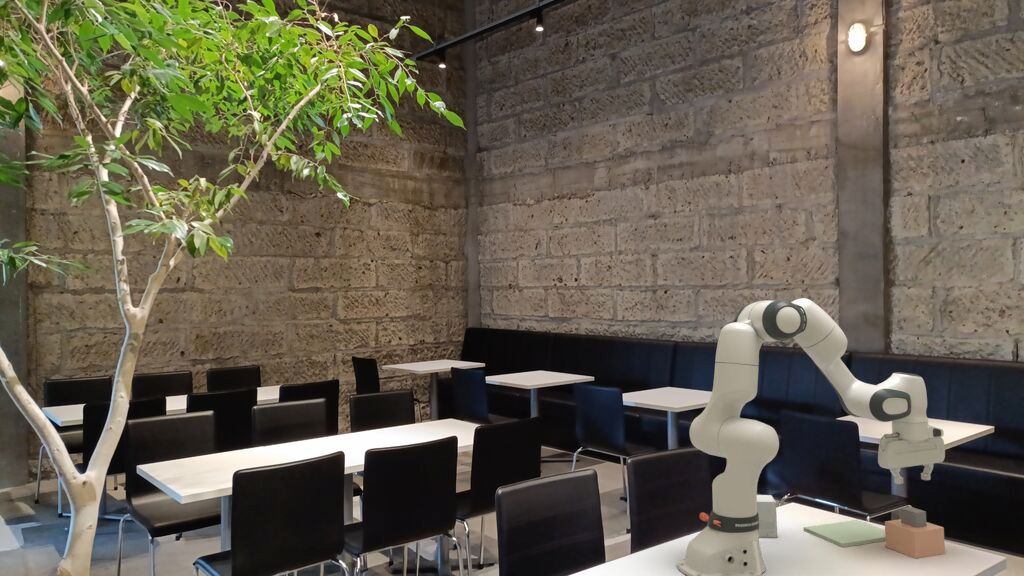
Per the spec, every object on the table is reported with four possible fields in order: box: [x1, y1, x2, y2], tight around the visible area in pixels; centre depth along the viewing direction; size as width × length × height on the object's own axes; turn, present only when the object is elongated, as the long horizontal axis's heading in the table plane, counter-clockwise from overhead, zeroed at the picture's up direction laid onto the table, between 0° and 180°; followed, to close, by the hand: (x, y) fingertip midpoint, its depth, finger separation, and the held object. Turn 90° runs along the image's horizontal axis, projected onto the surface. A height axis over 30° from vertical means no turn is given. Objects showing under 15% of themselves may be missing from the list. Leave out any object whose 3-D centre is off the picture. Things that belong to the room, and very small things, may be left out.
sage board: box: [803, 519, 886, 548], centre depth 211 cm, size 20×16×1 cm
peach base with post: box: [884, 506, 946, 559], centre depth 197 cm, size 10×10×11 cm
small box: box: [757, 494, 778, 538], centre depth 214 cm, size 8×6×10 cm
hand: (912, 481), depth 198 cm, fingers open, 8 cm apart
